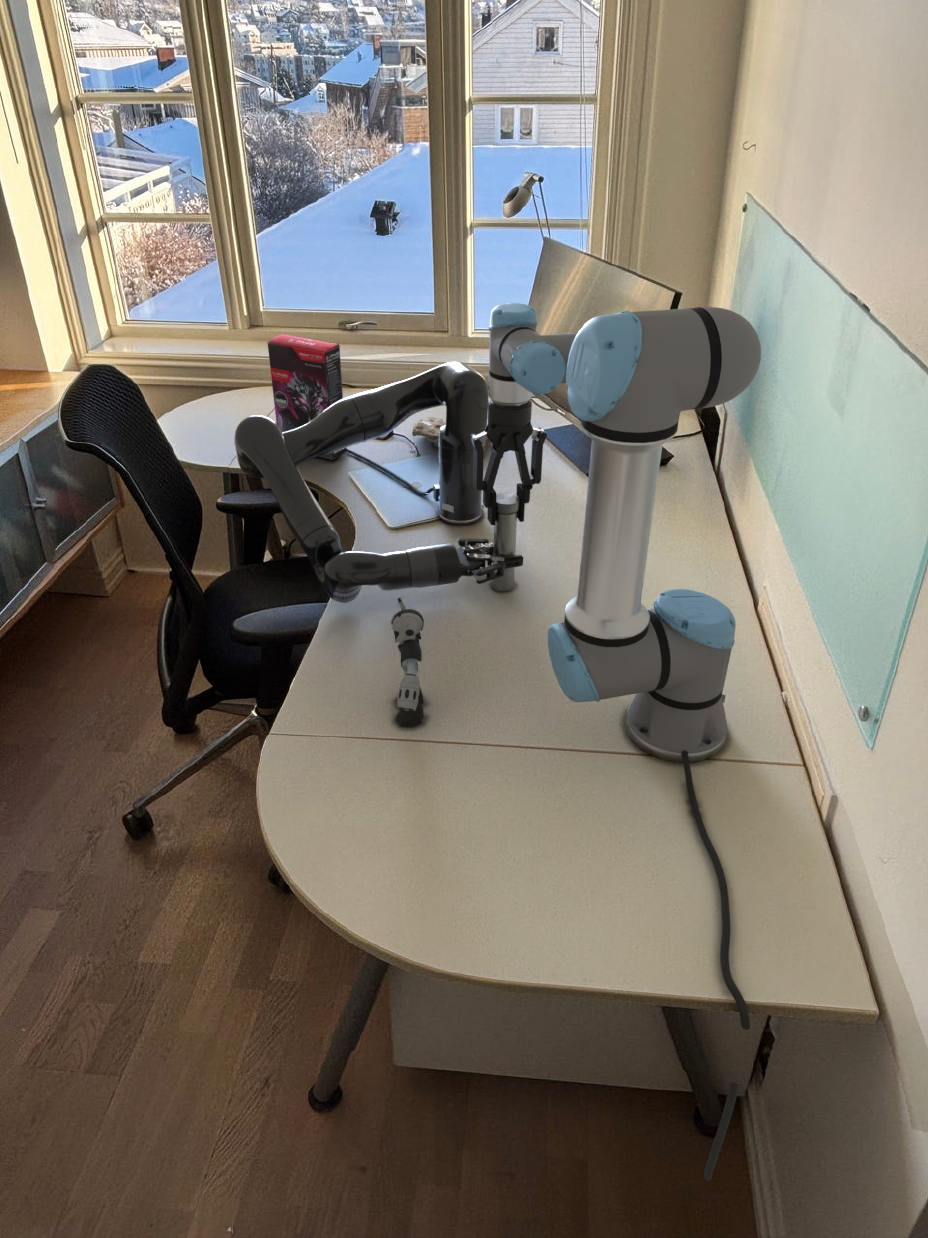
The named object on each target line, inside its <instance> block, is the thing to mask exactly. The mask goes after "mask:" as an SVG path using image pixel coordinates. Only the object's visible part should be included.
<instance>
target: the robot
mask: <svg viewBox="0 0 928 1238" xmlns="http://www.w3.org/2000/svg"><path fill="white" fill-rule="evenodd" d="M397 603H398V604H399V607H400V610H399V611H397V612H396V613H395V614H394V615H392V618H391V621H390V624H391V630H392V632H393V635H394V643H395V644H398V645H397V646H396V647H397V649H398V651H399V654H400V668H401V669H402V671H403V674H404V675H403V676H402V678H401V680H400V683H399V686H398V689H397V691H398V692H397V696H396V699H395V703H396V705H397V709H398V712H397V714H396V717H395V722H396V723H397V724H398V725H399V726H400V727H405V728H411V727H414V726H417V725H420V724H422V722H423V720H424V718H425V715H424V707H423V704H424V703H425V702H424V694H423V692H422V689H421V684H420V683H421V682H420V679H419V676H418V675H417V674H418V673H419V662H420V663H421V662H422V660H423V653H422V652H423V651H422V647H421V643H420V641H421V640H422V634H421V632H422V631H423V629H424V628H425V627H424V626H425V619H424V617H423V615H422V614H421V612H420V611H418V610H416V609H413V608H406V605H405V604H404V602H403V600H402V599H401V597H398V598H397Z"/></svg>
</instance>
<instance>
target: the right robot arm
mask: <svg viewBox="0 0 928 1238" xmlns="http://www.w3.org/2000/svg"><path fill="white" fill-rule="evenodd" d="M537 326H538V322H537V310H536V309H535V308H534V307H533V306H531V305H529V304H526V303H520V302H507V303H501V304H498V305H496V306H494V307H493V308H492V309H491V311H490V318H489V327H488V331H489V342H488V343H489V344H488V345H489V346H488V348H489V349H488V352H489V353H488V415H487V427H486V428H485V432H483V433H481V434H479V435H476V434H472V435H471V437H470V439H471V441H472V444H473V484H474V486H475V487H476V489H477V490H478V491H480V490H482V504H483V506H484V507H485V508H486V509H487V514H486V515H487V516H486V517H487V521H488V522H489V524H490V526H494V525H495V522H496V494H497V491H496V490H495V489H494V486H495V483H496V480H497V475H498V472H499V469H500V465H501V461H502V459H503V457H504V455H505V453H507V452H510V451H511V452H514V455H515V459H516V463H517V468H518V469H517V470H518V473H519V478H520V481H521V482H518V483H516V493H515V494H516V495H518V497H519V498H520V504H519V510H518V511H517V521H518V522H520V523H523V522H525V511H526V510H525V509H526V507H525V506H526V504H529V503H530V500H531V491H532V490H533V488H534V485H539V484H541V482H542V472H543V471H542V470H543V453H544V444H545V442H546V439H547V436H548V435H547V433H546V431H545V430H544V429H543V428H542V427H533V425H532V409H533V401H532V400H531V399H532V398H533V395H546V394H549V393H551V392H552V391H554V390H555V389H557V388H558V387H559V386H560V385H561V384H565V385H566V387H567V392H566V395H567V396H566V397H567V400H568V404H569V408H570V410H571V412H572V414H573V415H574V416H575V417H576V418H577V419H580V428H581V429H582V430H583V432H584V433H586V434H587V436H588V437H589V438H590V439H591V445H590V457H589V466H588V467H589V468H588V477H587V478H588V479H587V488H586V501H585V508H584V509H585V511H584V523H583V533H582V534H583V535H582V543H581V554H580V555H581V556H580V564H579V565H580V566H579V575H578V588H577V595H576V596H574V597H572V598H571V599H570V600H569V601H568V602H567V604H566V605H565V608H564V609H565V610H564V619H563V621H562V622H559V621H557V622H556V623H553V624H551V625H550V626H549V628H548V630H547V638H546V639H547V649H548V654H549V658H550V663H551V666H552V670H553V673H554V676H555V678H556V681H557V683H558V685H559V687H560V689H561V691H562V692H563V694H564V696H566V698H568V699H569V700H570V701H572V702H573V703H579V704H580V703H588V702H596V703H598V702H600V701H602V700H609V699H614V698H619V697H624V696H630V695H634V697H633V699H632V701H631V702H630V704H629V706H628V708H627V711H626V719H625V728H626V732H627V734H628V736H629V738H630V739H631V741H632V742H634V744H636V745H637V746H638V747H639V748H640V749H641V750H643V751H645V752H646V753H648V754H650V755H651V756H654V757H656V758H659V759H662V760H666V761H670V762H675V763H682V765H683V770H684V771H683V772H684V778H685V783H686V785H685V786H686V790H687V794H688V799H689V803H690V808H691V811H692V814H693V818H694V821H695V824H696V827H697V830H698V833H699V836H700V838H701V840H702V843H703V845H704V847H705V849H706V852H707V853H708V855H709V857H710V860H711V862H712V864H713V867H714V870H715V875H716V877H717V881H718V886H719V887H718V888H719V894H720V907H721V908H720V909H721V939H720V940H721V941H720V955H719V956H720V958H719V959H720V967H721V973H722V977H723V980H724V983H725V985H726V987H727V989H728V991H729V992H730V994H731V996H732V998H733V999H734V1001H735V1004H736V1006H737V1009H738V1013H739V1019H740V1026H741V1028H742V1029H743V1030H745V1031H748V1030H750V1028H751V1021H750V1014H749V1009H748V1006H747V1002H746V1000H745V997H744V996H743V995H742V992H741V991H740V989H739V987H738V986H737V984H736V982H735V981H734V978H733V976H732V972H731V968H730V967H731V966H730V942H731V913H730V899H729V891H728V885H727V884H728V883H727V880H726V876H725V872H724V869H723V865H722V862H721V860H720V857H719V855H718V853H717V851H716V849H715V847H714V845H713V843H712V841H711V838H710V836H709V835H708V831H707V829H706V827H705V826H706V825H705V823H704V821H703V817H702V814H701V812H700V807H699V803H698V800H697V795H696V791H695V787H694V782H693V775H692V769H691V763H694V762H700V761H703V760H706V759H709V758H711V757H714V755H716V754H718V752H720V751H721V750H722V748H723V747H724V744H725V743H726V740H727V739H726V738H727V734H728V721H727V716H726V712H725V708H724V707H725V706H724V704H725V701H726V695H725V694H723V692H724V686H725V682H726V678H727V672H728V668H729V664H730V659H731V654H732V651H733V650H732V649H733V647H734V645H735V637H736V636H735V635H736V618H735V616H734V614H733V612H732V611H731V609H730V608H729V607H728V606H727V605H726V604H725V603H723V602H722V601H720V600H719V599H717V598H715V596H714V597H713V596H711V595H709V594H707V593H704V592H701V591H699V590H698V591H697V590H694V589H689V588H688V589H687V588H673V589H667V590H664V591H663V592H661V593H660V594H659V595H657V597H656V599H655V600H654V602H653V608H652V609H648V608H647V607H646V606H645V605H644V604H643V603H642V597H643V589H644V582H645V574H646V567H647V560H648V553H649V545H650V538H651V533H652V532H651V531H652V523H653V518H654V517H653V516H654V511H655V510H654V509H655V501H656V494H657V487H658V481H659V480H658V479H659V473H660V465H661V459H662V452H663V451H662V450H663V445H664V444H666V443H667V442H669V441H670V440H672V439H674V437H676V435H677V433H678V430H679V422H680V421H679V420H680V415H681V412H683V411H685V412H686V411H692V410H693V411H694V410H701V409H709V408H713V407H716V406H717V407H718V406H720V405H722V404H725V403H728V402H729V401H732V400H733V399H735V398H737V397H738V396H739V395H740V394H742V393H743V392H744V391H746V389H747V388H749V386H750V385H751V384H752V382H753V380H754V379H755V377H756V375H757V373H758V370H759V368H760V364H761V360H762V359H761V358H762V346H761V341H760V338H759V335H758V333H757V331H756V329H755V328H754V326H753V325H752V324H751V322H750V321H748V320H747V319H746V318H745V317H743V315H741V314H739V313H737V312H735V311H733V310H731V309H727V308H722V307H717V306H698V307H689V308H688V307H687V308H686V307H685V308H673V309H671V308H670V309H657V310H639V311H629V310H622V311H619V312H616V313H610V314H601V315H597V316H594V317H592V318H591V319H589V320H587V321H586V322H585V323H584V324H583V326H582V327H581V328H580V329H579V330H578V332H569V333H556V334H544V335H543V334H540V333H539V332H537ZM530 438H531V441H532V442H531V456H530V457H531V458H530V460H531V461H530V470H529V466H528V461H527V456H526V453H527V452H526V449H525V444H526V442H527V441H528V439H530ZM487 439H489V440H490V442H491V447H490V454H489V459H488V462H487V465H486V466H487V467H486V469H485V473H484V464H485V463H484V462H485V460H484V459H485V454H484V450H483V447H484V446H485V441H486V440H487ZM728 1087H729V1088H728V1092H727V1095H726V1099H725V1104H724V1108H723V1111H722V1115H721V1118H720V1121H719V1123H718V1127H717V1131H716V1133H715V1136H714V1139H713V1143H712V1145H711V1149H710V1151H709V1154H708V1158H707V1161H706V1164H705V1168H704V1171H703V1179H704V1180H705V1181H709V1182H710V1181H711V1180H712V1177H713V1173H714V1171H715V1170H714V1169H715V1167H716V1163H717V1161H718V1157H719V1154H720V1151H721V1149H722V1145H723V1143H724V1139H725V1137H726V1133H727V1131H728V1128H729V1124H730V1121H731V1119H732V1115H733V1112H734V1109H735V1104H736V1101H737V1096H738V1092H739V1087H740V1084H739V1083H737V1082H731V1081H730V1082H729V1086H728Z"/></svg>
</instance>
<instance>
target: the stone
mask: <svg viewBox="0 0 928 1238" xmlns="http://www.w3.org/2000/svg"><path fill="white" fill-rule="evenodd" d="M445 424H446V420H444V419H443V418H439V417H434V416H429V417H427V418H419V419H418V420H417V422H415V423H413V426H412V432H411V434H412V436H413V437H417V436H419V437H420V436H421V437H424V438H425V440H426V441H428V442H431V443H433V446H434V447H437V448H439V430H440V428H441V427H442V426H443V425H445ZM490 445H492V443H491V442H490V440H489V439H487V440H486V441H485V446H484V447H483V450H484V455H485V454H486V451H487V449H488V448H489V446H490Z"/></svg>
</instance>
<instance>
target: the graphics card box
mask: <svg viewBox="0 0 928 1238" xmlns="http://www.w3.org/2000/svg"><path fill="white" fill-rule="evenodd" d="M340 347H341V346H340V343H335V342H333V343H332V342H328V341H322V340H317V339H311V338H306V337H300V336H295V335H289V334H285V333H282V334H279V335H277V336H274V337H273V338H271V339H270V340H268V341H267V351H268V359H269V367H270V369H269V370H270V377H271V378H270V379H271V385H272V386H271V387H272V395H273V403H274V412H275V413H274V414H275V423H276V424H277V425H278V426H279V428H280V429H281V431H282V433H283V432H287V431H290V430H293V429H296V428H298V427H301V426H303V425H305V424H306V423H308V422H309V421H311V420H312V419H314V418H315V417H316V416H317V415H319V414H320V413H321V412H322V411H324V410H325V409H326V408H328V407H329V406H331V405H332V404H334V403H335V402H337V401H339V400H341V399H343V398H344V393H343V380H342V364H341V363H342V362H341V349H340ZM347 449H348V447H346V448H343V449H340V450H337V451H334V452H331V453H328V454H325V455H322V456H319V457H318V458H322V459H326V460H330V461H333V460H335V459H337V458H339V457H340V456H342V455H344V454H345V453H348V452H347Z"/></svg>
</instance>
